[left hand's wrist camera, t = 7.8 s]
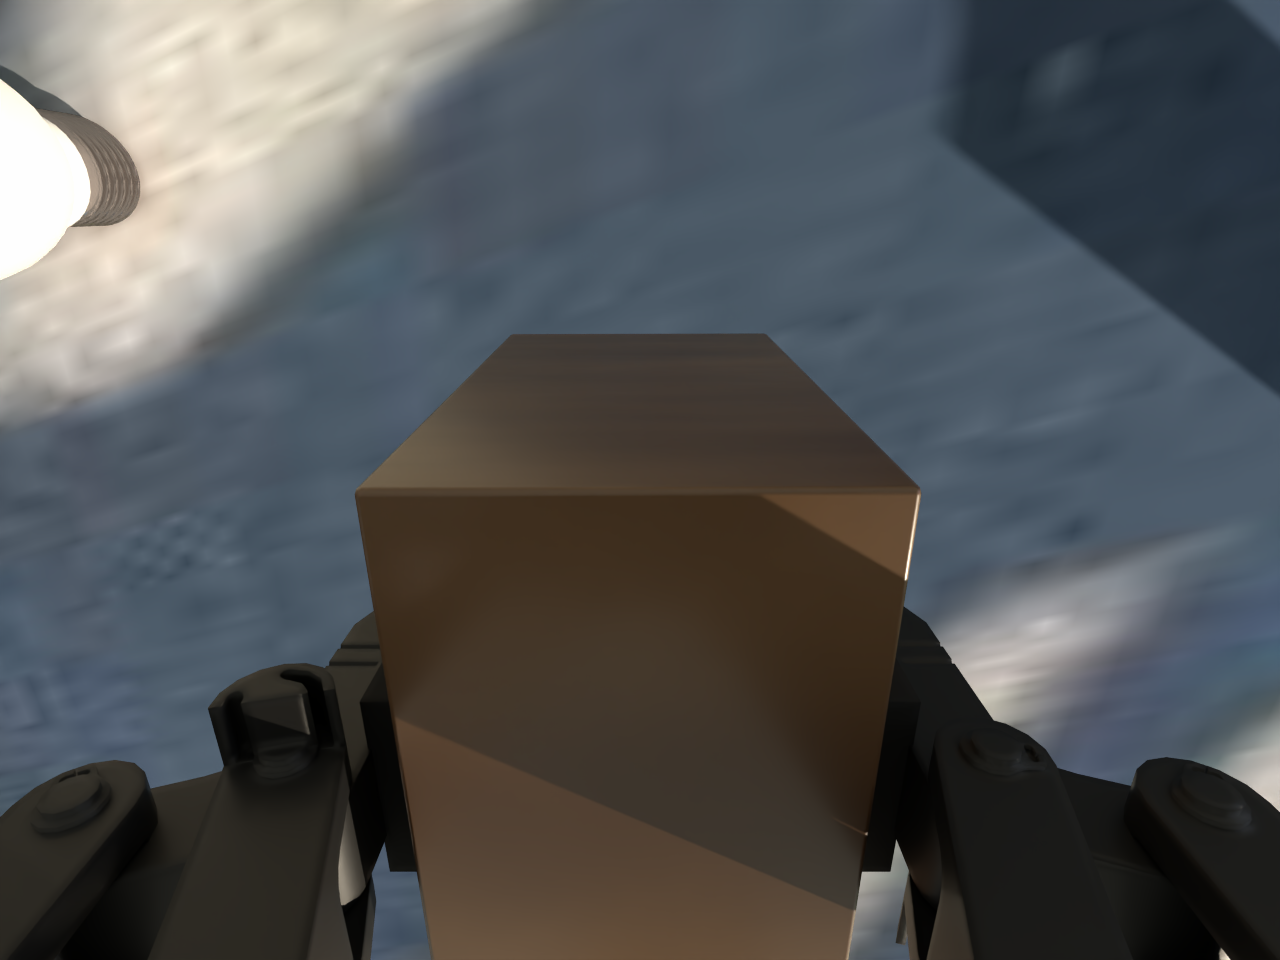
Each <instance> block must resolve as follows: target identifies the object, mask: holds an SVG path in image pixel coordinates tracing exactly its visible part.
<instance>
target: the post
mask: <svg viewBox="0 0 1280 960" xmlns="http://www.w3.org/2000/svg"><path fill="white" fill-rule="evenodd" d="M920 498H921V490H920V487H919V486H918V485H917V484H916V483H915V482H914V481H913V480H912V479H911V478H910V477H909V476H908V475H907V474H906V473H905V472H904V471H903V470H902V469H901V468H900V467H899V466H898V465H897V464H896V463H895V462H894V461H893V460H892V459H891V458H890V457H889V456H888V455H887V454H886V453H885V452H884V451H883V450H882V449H881V448H880V447H879V446H878V445H877V444H876V443H875V442H874V441H873V440H872V439H871V438H870V437H869V436H868V435H867V434H866V433H865V432H864V431H863V430H862V429H861V428H860V427H859V426H858V425H857V424H856V423H855V422H854V421H853V420H852V419H851V418H850V417H849V416H848V415H846V414H845V413H844V412H843V411H842V410H841V409H840V408H839V407H838V406H837V405H836V404H835V403H834V402H833V401H832V400H831V399H830V398H829V397H828V396H827V395H826V394H825V393H824V392H823V391H822V390H821V389H820V388H819V387H818V386H817V385H816V384H815V383H814V382H813V381H812V380H811V379H810V378H809V377H808V376H807V375H806V374H805V373H804V372H803V371H802V370H801V369H800V368H799V367H798V366H797V365H796V364H795V363H794V362H793V361H792V360H791V359H790V358H789V357H788V356H787V355H786V354H785V353H784V352H783V351H782V350H781V349H780V348H779V347H778V346H777V345H776V344H775V343H774V342H773V341H772V340H771V339H770V338H769V337H768V336H767V335H766V334H513V335H511V336H510V337H509V338H508V339H507V340H506V341H505V342H504V343H503V344H502V345H501V346H500V347H499V348H498V349H497V350H495V351H494V352H493V353H492V354H491V355H490V356H489V357H488V358H487V359H486V360H485V361H484V362H483V363H482V364H481V365H480V366H479V367H478V368H477V369H476V370H475V371H474V372H473V373H472V374H471V375H470V376H469V377H468V378H467V379H466V380H465V381H464V382H463V383H462V384H461V385H460V386H459V387H458V388H457V389H456V390H455V391H454V392H453V393H452V394H451V395H450V396H449V397H448V398H447V399H446V400H445V401H444V402H443V403H442V404H441V405H440V406H439V407H438V408H437V409H436V410H435V411H434V412H433V413H432V414H431V415H430V416H429V417H428V418H427V419H426V420H425V421H424V422H423V423H422V424H421V425H420V426H419V427H418V428H417V429H416V430H415V431H414V432H413V433H412V434H411V435H410V436H409V437H408V438H407V439H406V440H405V441H404V442H403V443H402V444H401V445H400V446H399V447H398V448H397V449H396V450H395V451H394V452H393V453H392V454H391V455H390V456H389V457H388V458H387V459H386V460H385V461H384V462H383V463H382V464H381V465H380V466H379V467H378V468H377V469H376V470H375V471H374V472H373V473H372V474H371V475H370V476H369V477H368V478H367V479H366V480H365V481H364V482H363V483H362V484H361V485H360V486H359V487H358V488H357V489H356V492H355V499H356V505H357V511H358V517H359V523H360V529H361V536H362V542H363V548H364V554H365V560H366V566H367V572H368V578H369V584H370V590H371V596H372V602H373V608H374V615H375V621H376V627H377V633H378V639H379V645H380V651H381V657H382V663H383V669H384V675H385V681H386V687H387V693H388V700H389V706H390V712H391V718H392V724H393V730H394V736H395V742H396V748H397V754H398V760H399V766H400V772H401V778H402V785H403V791H404V797H405V803H406V809H407V815H408V821H409V827H410V833H411V839H412V845H413V851H414V857H415V863H416V870H417V876H418V882H419V888H420V894H421V900H422V906H423V912H424V918H425V924H426V930H427V936H428V942H429V948H430V955H431V960H848V957H849V950H850V944H851V938H852V931H853V925H854V919H855V912H856V906H857V900H858V893H859V887H860V880H861V874H862V868H863V861H864V855H865V849H866V842H867V836H868V829H869V823H870V817H871V810H872V804H873V798H874V791H875V785H876V778H877V772H878V766H879V759H880V753H881V747H882V740H883V734H884V728H885V721H886V715H887V708H888V702H889V696H890V689H891V683H892V677H893V670H894V664H895V657H896V651H897V645H898V638H899V632H900V626H901V619H902V613H903V607H904V600H905V594H906V587H907V581H908V575H909V568H910V562H911V556H912V549H913V543H914V536H915V530H916V524H917V517H918V511H919V505H920Z"/></svg>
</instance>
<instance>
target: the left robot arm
mask: <svg viewBox="0 0 1280 960" xmlns="http://www.w3.org/2000/svg"><path fill="white" fill-rule="evenodd" d="M951 660H952V659H951V658H950V656H949V655H948V653H947V652H946V651H945V649H944V648H943V647H940V642H939V640H938V639H937V638H936V636H935V635H934V633H933V632H932V630H931V629H930V627H929V626H928V624H927V623H926V622H925V621H923V620H922V619H921V618H919V617H918V616H916V615H915V614H914V613H912V612H911V611H909V610H908V609H907V608H905V607H903V613H902V619H901V626H900V632H899V638H898V645H897V651H896V657H895V664H894V670H893V677H892V683H891V689H890V696H889V702H888V708H887V715H886V721H885V728H884V734H883V740H882V747H881V753H880V759H879V766H878V772H877V778H876V785H875V791H874V798H873V804H872V810H871V817H870V823H869V829H868V836H867V842H866V849H865V855H864V861H863V868H862V872H890V871H891V865H892V860H893V854H894V849H895V843H896V839H897V842H898V844H899V847H900V849H901V852H902V854H903V857H904V859H905V862H906V864H907V867H908V869H909V873H908V878H907V883H906V889H905V894H904V899H903V904H902V909H901V914H900V919H899V925H898V931H897V938H896V943H898V944H903V945H905V942H906V938H907V936H908V946H909V956H910V960H1280V812H1279V811H1278V810H1277V809H1276V808H1275V807H1274V806H1273V805H1272V804H1271V803H1270V802H1268V801H1267V800H1266V799H1264V798H1263V797H1262V796H1261V795H1259V794H1258V793H1257V792H1255V791H1254V790H1253V789H1252V788H1250V787H1249V786H1248V785H1246V784H1244V783H1242V782H1241V781H1239V780H1237V779H1235V778H1233V777H1231V776H1229V775H1227V774H1225V773H1224V772H1222V771H1220V770H1217V769H1214V768H1212V767H1209V766H1205V765H1203V764H1200V763H1197V762H1194V761H1190V760H1183V759H1175V758H1168V757H1165V758H1158V759H1152V760H1147V761H1146V762H1145V763H1143V764H1142V765H1141V766H1140V767H1139V768H1137V770H1136V773H1135V776H1134V779H1133V782H1132V785H1131V786H1129V785H1124V784H1120V783H1115V782H1111V781H1107V780H1102V779H1098V778H1093V777H1089V776H1085V775H1080V774H1076V773H1073V772H1069V771H1066V770H1063V769H1059V768H1057V766H1056V764H1055V763H1054V761H1053V760H1052V758H1051V757H1050V755H1049V754H1048V752H1047V751H1046V749H1045V748H1043V747H1042V746H1041V745H1040V744H1038V743H1037V742H1036V741H1035V740H1034V739H1032V738H1031V737H1030V736H1029V735H1027V734H1025V733H1023V732H1021V731H1019V730H1017V729H1015V728H1013V727H1011V726H1009V725H1007V724H1005V723H1001V722H997V721H994V720H993V719H992V717H991V716H990V715H989V713H988V712H987V710H986V709H985V707H984V706H983V704H982V703H981V701H980V700H979V699H978V697H977V696H976V694H975V693H974V691H973V690H972V688H971V687H970V685H969V684H968V683H967V681H966V680H965V678H964V677H963V675H962V674H961V672H960V671H959V669H958V668H957V667H956V665H955V664H952V662H951ZM208 710H209V714H210V718H211V721H212V725H213V728H214V732H215V735H216V739H217V743H218V746H219V750H220V753H221V757H222V760H223V764H224V767H223V770H222V771H221V772H217V773H214V774H211V775H207V776H204V777H200V778H195V779H191V780H187V781H182V782H178V783H173V784H169V785H165V786H160V787H156V788H152V789H150V786H149V783H148V780H147V777H146V774H145V772H144V771H143V770H142V769H141V768H139V767H138V766H137V765H136V764H135V763H131V762H124V761H118V760H112V761H105V762H98V763H91V764H88V765H85V766H82V767H78V768H76V769H73V770H70V771H67V772H64V773H62V774H60V775H58V776H56V777H54V778H52V779H50V780H49V781H47V782H45V783H43V784H41V785H39V786H37V787H36V788H34V789H33V790H32V791H30V792H29V793H28V794H26V795H25V796H24V797H23V798H21V799H20V800H19V801H18V802H16V803H15V804H14V805H12V806H11V807H10V808H9V809H8V810H7V811H6V812H5V813H4V814H3V815H2V816H1V817H0V960H370V958H371V948H372V938H373V927H374V917H375V907H376V897H375V890H374V883H373V878H372V871H373V869H374V866H375V864H376V861H377V859H378V856H379V854H380V851H381V849H382V846H383V844H384V841H385V846H386V852H387V857H388V863H389V868H390V872H417V870H416V863H415V857H414V851H413V845H412V839H411V833H410V827H409V821H408V815H407V809H406V803H405V797H404V791H403V785H402V778H401V772H400V766H399V760H398V754H397V748H396V742H395V736H394V730H393V724H392V718H391V712H390V706H389V700H388V693H387V687H386V681H385V675H384V669H383V663H382V657H381V651H380V645H379V639H378V633H377V627H376V621H375V615H374V611H373V612H372V613H370V614H369V615H367V616H366V617H365V618H363V619H362V620H360V621H359V622H358V623H356V624H355V625H354V626H353V628H352V629H351V631H350V632H349V634H348V635H347V637H346V638H345V640H344V641H343V642H342V644H341V649H338V650H337V651H336V653H335V654H334V656H333V657H332V659H331V660H330V661H329V666H326V667H325V669H324V668H323V667H319V666H315V665H311V664H307V663H300V664H283V665H279V666H274V667H270V668H266V669H262V670H259V671H257V672H255V673H252V674H250V675H248V676H246V677H243V678H241V679H239V680H237V681H236V682H234V683H233V684H232V685H230V686H229V687H227V688H226V689H225V690H223V691H222V692H220V693H219V695H218V696H217V697H216V698H215V700H214V701H213V702H212V704H211V705H210V706H209V707H208Z"/></svg>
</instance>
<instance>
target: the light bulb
mask: <svg viewBox="0 0 1280 960" xmlns="http://www.w3.org/2000/svg"><path fill="white" fill-rule="evenodd" d="M139 196H140V181H139V176H138V173H137V170H136V167H135V165H134V163H133V161H132V159H131V157H130V155H129V154H128V152H127V151H126V149H125V148H124V147H123V146H122V145H121V143H120V142H119V141H118V140H117V139H116V138H115V137H114V136H113V135H111V134H110V133H109V132H108V131H106V130H105V129H104V128H102V127H101V126H99V125H98V124H96V123H94V122H92V121H90V120H88V119H86V118H83V117H80V116H77V115H72V114H68V113H61V112H55V111H49V110H43V109H37V108H34V107H33V106H32V105H31V104H29V103H28V102H27V101H26V100H25V99H24V98H23V97H22V96H21V95H20V94H18V93H17V92H16V91H15V90H14V89H12V88H11V87H10V86H8V85H7V84H6V83H5V82H3V81H2V80H1V79H0V280H1V279H4V278H6V277H8V276H11V275H13V274H15V273H18V272H20V271H22V270H24V269H26V268H28V267H30V266H32V265H33V264H35V263H36V262H37V261H38V260H40V259H41V258H42V257H44V256H45V255H46V254H47V253H48V252H49V251H50V250H51V249H52V248H53V247H54V246H55V245H56V244H57V243H58V241H59V240H60V239H61V237H62V236H63V235H64V233H65V231H66V228H67V227H79V226H106V225H112V224H116V223H119V222H121V221H123V220H124V219H126V218H127V217H128V216H129V215H130V214H131V213H132V212H133V211H134V209H135V208H136V206H137V203H138V200H139Z"/></svg>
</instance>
